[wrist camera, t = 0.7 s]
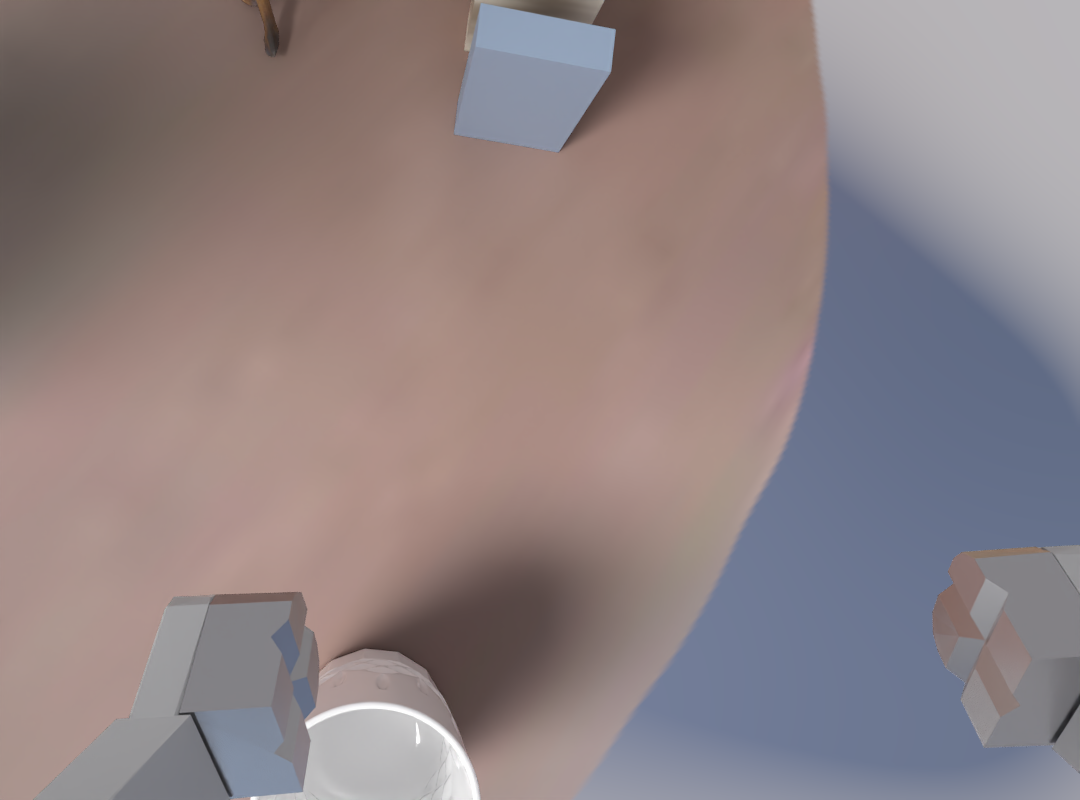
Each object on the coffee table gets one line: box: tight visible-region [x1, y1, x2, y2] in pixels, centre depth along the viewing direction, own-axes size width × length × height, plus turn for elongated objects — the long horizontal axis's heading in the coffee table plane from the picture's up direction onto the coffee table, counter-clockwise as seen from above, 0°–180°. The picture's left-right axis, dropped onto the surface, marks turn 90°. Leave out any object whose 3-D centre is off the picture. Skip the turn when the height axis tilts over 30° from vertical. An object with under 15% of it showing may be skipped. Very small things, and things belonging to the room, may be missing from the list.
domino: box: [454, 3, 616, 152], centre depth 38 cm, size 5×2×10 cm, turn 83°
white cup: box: [250, 649, 481, 800], centre depth 36 cm, size 8×8×10 cm
